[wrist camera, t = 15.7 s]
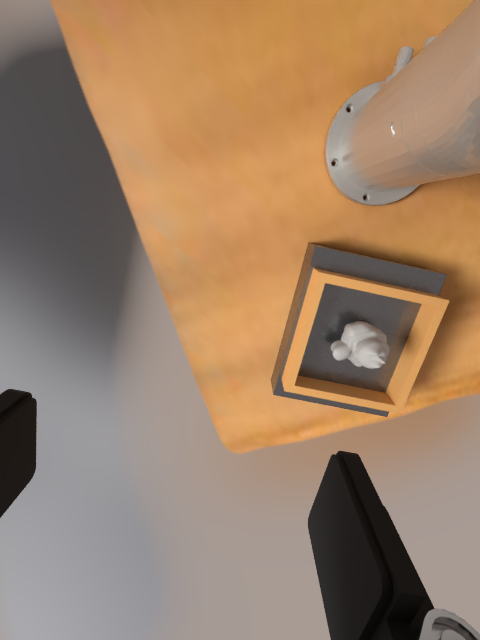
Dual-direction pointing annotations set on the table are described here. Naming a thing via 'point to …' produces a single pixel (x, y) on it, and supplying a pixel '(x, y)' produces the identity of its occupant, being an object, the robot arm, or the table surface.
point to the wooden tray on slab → (351, 306)
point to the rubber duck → (362, 345)
